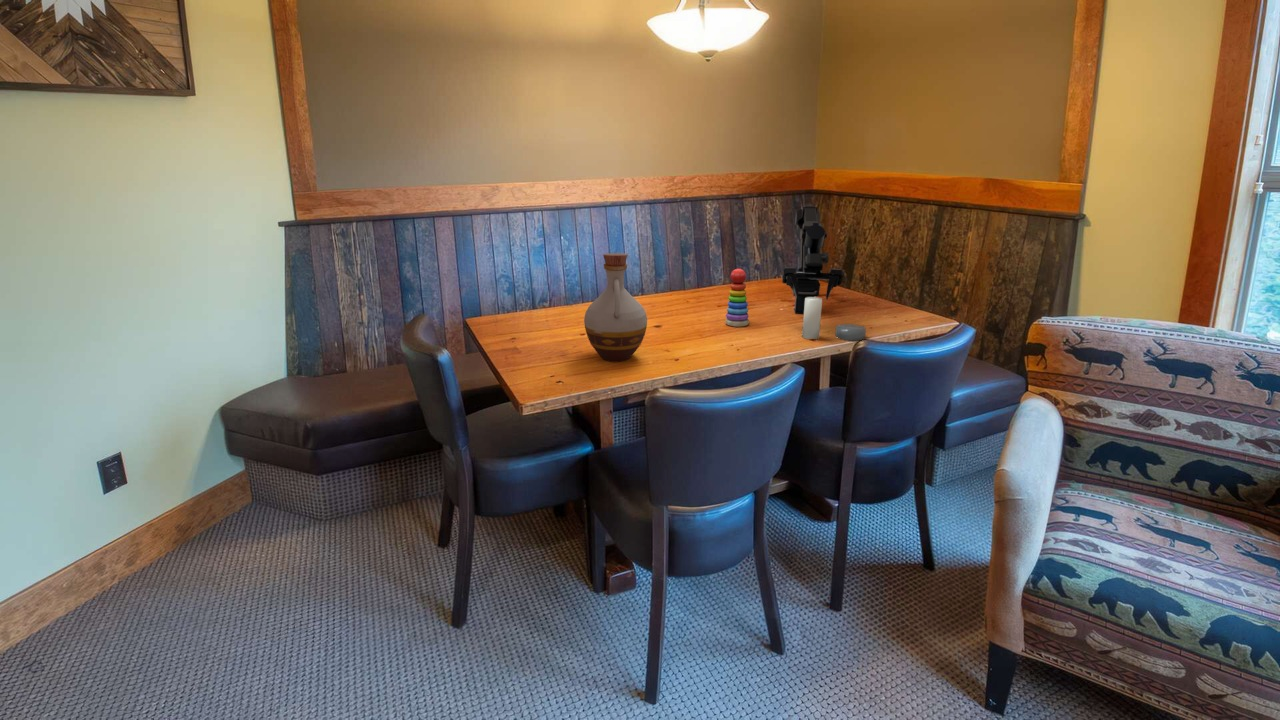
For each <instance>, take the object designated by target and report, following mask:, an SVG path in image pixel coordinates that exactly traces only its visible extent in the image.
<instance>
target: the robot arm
mask: <svg viewBox="0 0 1280 720" xmlns="http://www.w3.org/2000/svg"><path fill="white" fill-rule="evenodd" d="M820 219H821V212H820V211H819V210H818V206H815V205H804V206H803V205H802V207H801V208H800V209H799V210H797V211H796V213H795V218H794V220H795V221H794V225H795V226H796V232H797V233H798V235H799V240H800V268H798V270H797V268H796V267H791V266H790V267H788V266H786V267H784V268H783V269H782V279H781V281H782V284H786V286H789V288H790V289H791V290H792V295H793V297H795V299H794V307H793V311H794V313H795V314H803V315H804V306H805V298H806V297H819V296H820V290H821V289H820V288H821V283H820V280H824V281H828V282H827V286H826V287H827V288H826V293H825V300H828V299H829V297H830V294H831V292H832V291H833V290H834V288H837V287H838V286H840V285H841V284H842V281H843V278H844V271H843V270H842V268H830V269H829V272H822V271H823V265H824V264H826V265H827V264H828V263H829V260H830V258H829V257H830V256H829V255H830V254H829V252H822V247H823V244H824V240H826V238H827V237H828V233H827V232H826V230H825V228H824V227H823V224H822V223H820V222H821V220H820Z"/></svg>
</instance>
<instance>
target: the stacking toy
mask: <svg viewBox="0 0 1280 720" xmlns="http://www.w3.org/2000/svg"><path fill="white" fill-rule="evenodd" d="M746 278H747V274H746V272H745V271H744V269H742V268H736V269H734V270H732V271H731V273H730V279H731V281H732V283H731V284H730V287H729V288H730V290H729V293H728V294H729V296H728V301H727V305H728V306H727V309H726V312H727V313H726V314H725V317H726V318H725V322H724V323H725V324H726V325H727V326H730V327H735V328H736V327H739V328H741V327H746V326H748V325H749V324H750V320H749V313H748V312H749V308H748V304H749V303H748V302H747V299H748V297H747V291H746V287H747V286H746V283H744V282H745V281H746Z"/></svg>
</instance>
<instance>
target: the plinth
mask: <svg viewBox="0 0 1280 720" xmlns="http://www.w3.org/2000/svg"><path fill="white" fill-rule="evenodd" d="M835 336H836V337H838V338H840V339H839V340H841V339H843V340H842V341H846V340H849V341H848V342H860V341H859V340H861V341H863V340H862V339H864V340H865V339H866V327H864V326H861V325H859V324H858V325H857V324H851V323H846V324H845V323H844V324H843V323H842V324H838V325H836V327H835ZM836 337H835V338H836ZM838 338H837V339H838ZM856 340H857V341H856Z"/></svg>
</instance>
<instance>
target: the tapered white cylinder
mask: <svg viewBox="0 0 1280 720" xmlns="http://www.w3.org/2000/svg"><path fill="white" fill-rule="evenodd" d="M822 305H823V298H822V297H819V296H817V297H816V296H814V297H806V298H805V306H804V314H803V321H802V322H803V323H802V333H801V337H803V338H802V339H804V338H806V339H805V340H808V339H816V340H819V339H820V331H821V330H820V329H821V318H822V307H823V306H822ZM818 338H819V339H818Z"/></svg>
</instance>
